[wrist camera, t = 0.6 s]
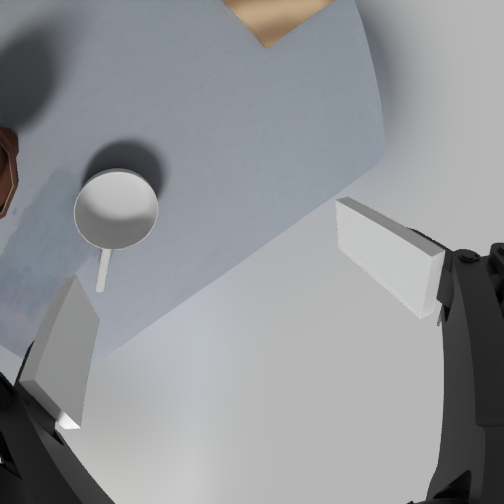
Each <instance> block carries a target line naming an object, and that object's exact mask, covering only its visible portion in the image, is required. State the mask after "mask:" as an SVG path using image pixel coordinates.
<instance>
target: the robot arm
mask: <svg viewBox="0 0 504 504" xmlns="http://www.w3.org/2000/svg"><path fill="white" fill-rule="evenodd" d="M335 202H336V214H337V230H338V248H339V249H340V250H341V251H342V252H343V253H345V254H346V255H347V256H348V257H349V258H351V259H352V260H353V261H354V262H355V263H357V264H358V265H359V266H360V267H361V268H363V269H364V270H365V271H366V272H367V273H368V274H370V275H371V276H372V277H373V278H374V279H376V280H377V281H378V282H379V283H380V284H381V285H382V286H384V287H385V288H386V289H387V290H388V291H389V292H391V293H392V294H393V295H394V296H395V297H396V298H397V299H398V300H399V301H401V302H402V303H403V304H404V305H405V306H406V307H407V308H408V309H410V310H411V311H412V312H413V313H414V314H415V315H416V316H417V317H418V318H419V319H422V318H424V317H425V316H427V315H429V314H431V313H432V312H434V308H435V304H436V299H437V300H438V301H440V302H441V303H442V307H441V311H440V315H439V318H438V322H437V326H439V325H440V322H441V321H442V334H443V351H444V404H443V405H444V406H443V422H442V433H441V443H440V452H439V459H438V465H437V468H436V471H435V473H434V475H433V477H432V479H431V482H430V485H429V488H428V492H427V497H426V501H422V502H419V503H415V504H504V243H494V244H492V245H491V249H490V254H489V255H488V256H483V257H481V256H480V255H478V254H477V253H476V252H474V251H471V250H466V249H459V250H456V251H454V252H453V251H451V250H450V249H448V248H446V247H445V246H443V245H441V244H440V243H438V242H436V241H435V240H432V239H431V238H430V237H428V236H425V235H424V234H422V233H421V232H419V231H417V230H414V229H410V228H407V227H404V226H403V225H401V224H399V223H397V222H395V221H394V220H392V219H390V218H388V217H386V216H384V215H383V214H380V213H378V212H377V211H375V210H373V209H371V208H369V207H367V206H365V205H363V204H361V203H359V202H357V201H355V200H353V199H351V198H349V197H345V198H341V199H337V200H335ZM99 321H100V319H99V318H98V316H97V314H96V312H95V310H94V308H93V307H92V305H91V303H90V301H89V299H88V297H87V295H86V293H85V291H84V290H83V288H82V286H81V284H80V282H79V279H78V277H77V275H75V276H72V277H69V278H66V279H64V280H63V282H62V284H61V286H60V288H59V290H58V292H57V294H56V296H55V298H54V300H53V302H52V304H51V306H50V308H49V310H48V312H47V314H46V316H45V318H44V320H43V323H42V325H41V327H40V329H39V332H38V334H37V336H36V339H35V340H34V341H33V342H32V344H31V345H30V346H29V348H28V350H27V352H26V355H25V359H24V360H23V363H22V366H21V368H20V370H19V373H18V376H17V378H16V382H15V384H14V387H13V386H12V384H11V383H10V382H9V381H8V380H7V379H6V377H5V376H4V375H3V374H2V373H1V372H0V458H1V463H0V504H115V503H114V502H113V501H112V500H111V499H110V497H108V495H107V494H106V493H105V492H104V491H103V490H102V488H101V487H100V486H99V485H98V484H97V483H96V481H95V480H94V479H93V478H92V476H91V475H90V474H89V473H88V471H87V470H86V469H85V468H84V466H83V465H82V464H81V462H80V461H79V460H78V458H77V457H76V456H75V454H74V453H73V452H72V450H71V449H70V447H69V446H68V445H67V443H66V442H65V440H64V439H63V437H62V436H61V434H60V433H59V432H58V431H57V430H56V429H55V422H56V421H57V422H58V423H59V424H60V425H61V426H63V428H65V429H74V428H81V421H82V412H83V405H84V397H85V391H86V384H87V379H88V373H89V368H90V363H91V358H92V353H93V348H94V343H95V339H96V334H97V330H98V326H99ZM407 504H414V503H413V501H411V502H409V503H407Z"/></svg>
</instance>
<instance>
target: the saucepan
mask: <svg viewBox="0 0 504 504" xmlns="http://www.w3.org/2000/svg"><path fill="white" fill-rule="evenodd" d="M157 216H158V201H157V198H156V195H155V193H154V191H153V189H152V187H151V186H150V184H149V183H148V182H147V181H146V180H145V179H144V178H143V177H142V176H141V175H139V174H138V173H136V172H134V171H131V170H128V169H122V168H113V169H108V170H104V171H102V172H99V173H97V174H96V175H94V176H93V177H91V178H90V179H89V180H88V181H87V182H86V183H85V184H84V186H83V187H82V189H81V190H80V192H79V194H78V196H77V199H76V203H75V206H74V220H75V223H76V227H77V229H78V231H79V232H80V234H81V235H82V236H83V238H84V239H85V240H87V241H88V242H89V243H91V244H92V245H94V246H96V247H99V248H102V253H101V259H100V264H99V270H98V276H97V283H96V291H97V292H103V291H104V287H105V282H106V276H107V271H108V265H109V260H110V255H111V251H112V250H121V249H125V248H129V247H131V246H134V245H135V244H137V243H139V242H140V241H142V240H143V239H144V238H145V237H146V236H147V235H148V234H149V233H150V232H151V230H152V229H153V227H154V225H155V223H156V220H157Z"/></svg>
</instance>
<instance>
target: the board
mask: <svg viewBox="0 0 504 504" xmlns="http://www.w3.org/2000/svg"><path fill="white" fill-rule="evenodd" d="M222 1H223V2H224V3H225V4H226V5H227V6H228V7H229V8H230V9H231V10H232V11H233V12H234V13H235V14H236V16H237V17H238V18H239V19H240V20H241V21H242V22H243V23H244V24H245V25H246V27H247V28H248V29H249V30H250V31H251V32H252V33H253V35H254V36H255V37H256V38H257V39H258V40H259V41H260V43H261V44H262V45H263V46H264V47H265V48H269V47H271V46H272V45H273V44H274V43H276V42H277V41H278V40H279V39H281V38H282V37H283V36H285V35H286V34H287V33H288V32H290V31H291V30H292V29H294V28H295V27H297V26H298V25H299V24H301V23H302V22H303V21H305V20H306V19H308V18H309V17H310V16H312V15H313V14H315V13H316V12H318V11H319V10H321V9H322V8H324V7H325V6H327V5H328V4H330V3H331V2H333V1H334V0H222Z"/></svg>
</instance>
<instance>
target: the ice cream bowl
mask: <svg viewBox="0 0 504 504" xmlns="http://www.w3.org/2000/svg"><path fill="white" fill-rule="evenodd" d="M18 152H19V151H18V138H17V137H16V136H15V135H14V133H13V132H12V131H11V129H8V128H2V127H0V219H1V218H3V217H5V216H6V213H7V211H8V208H9V206H10V203H11V201H12V198H13V196H14V193H15V191H16V189H17V186H18V181H19V179H18V171H17V163H16V156H17V154H18Z"/></svg>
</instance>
